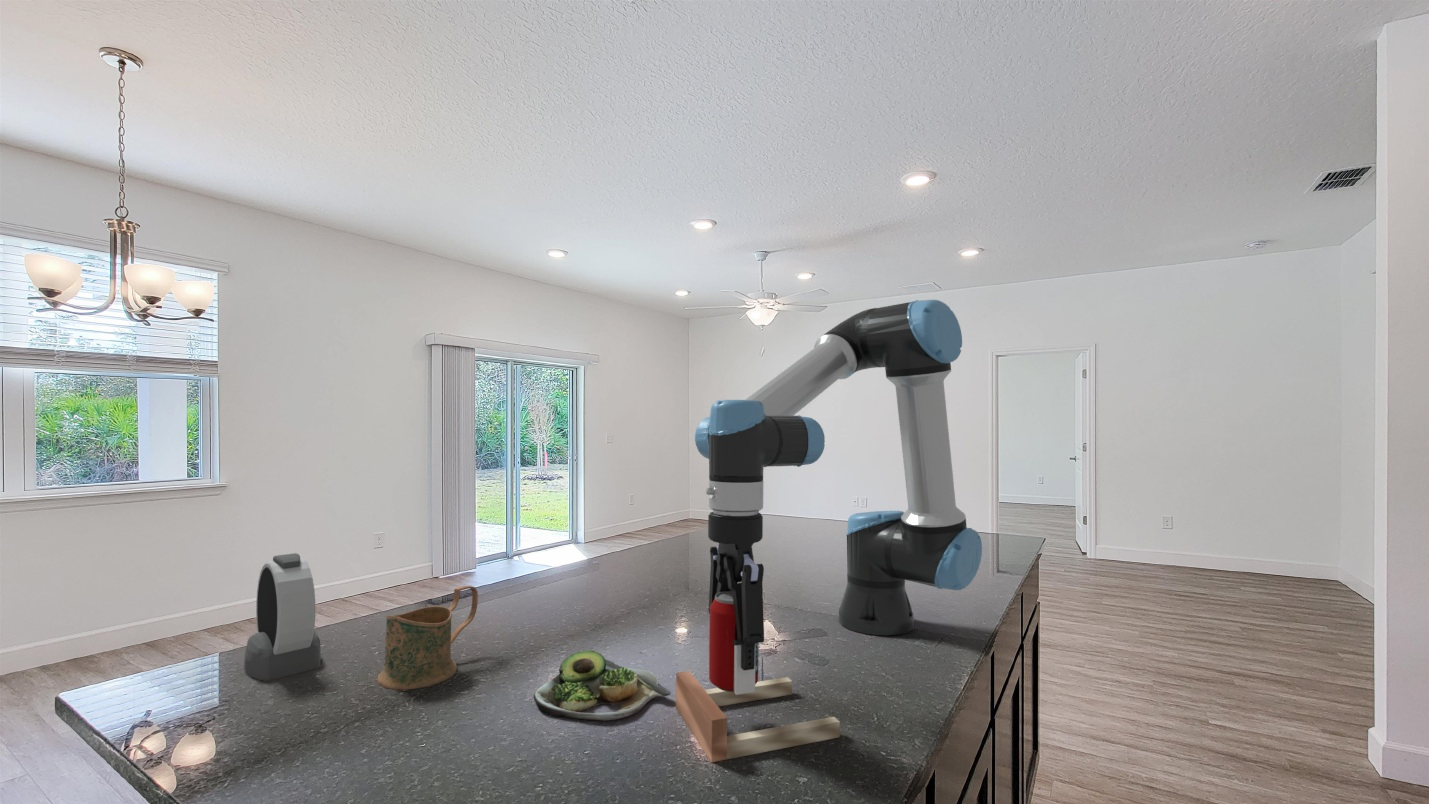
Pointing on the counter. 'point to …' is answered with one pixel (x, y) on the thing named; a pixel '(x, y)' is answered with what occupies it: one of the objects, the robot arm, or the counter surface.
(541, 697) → the avocado toast plate
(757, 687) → the guide channel
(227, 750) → the counter surface
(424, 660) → the mug
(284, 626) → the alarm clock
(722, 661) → the beverage can
